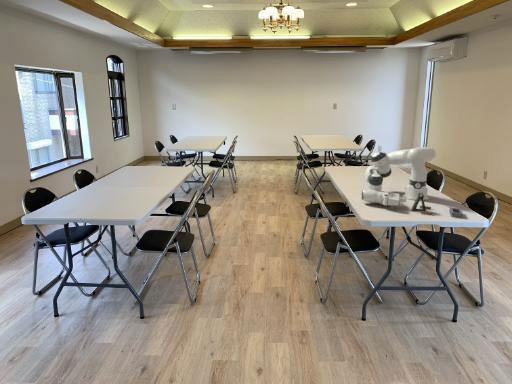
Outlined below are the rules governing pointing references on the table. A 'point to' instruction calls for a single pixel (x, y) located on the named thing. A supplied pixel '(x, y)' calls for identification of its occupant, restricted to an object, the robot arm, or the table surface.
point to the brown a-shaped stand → (418, 202)
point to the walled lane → (426, 212)
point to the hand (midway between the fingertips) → (406, 200)
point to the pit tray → (456, 213)
